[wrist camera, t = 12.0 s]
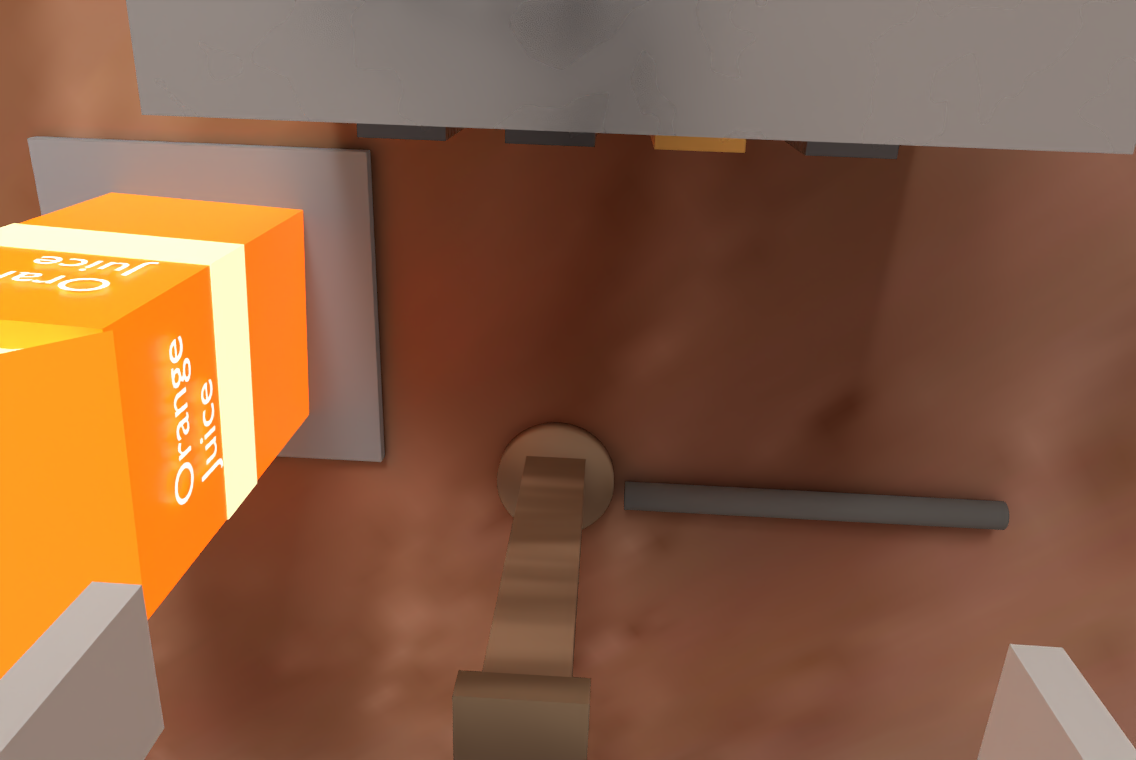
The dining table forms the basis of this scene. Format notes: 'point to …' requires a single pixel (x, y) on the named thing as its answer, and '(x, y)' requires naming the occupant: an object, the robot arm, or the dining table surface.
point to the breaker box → (658, 70)
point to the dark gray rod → (816, 505)
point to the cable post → (536, 604)
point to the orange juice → (138, 391)
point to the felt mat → (331, 253)
